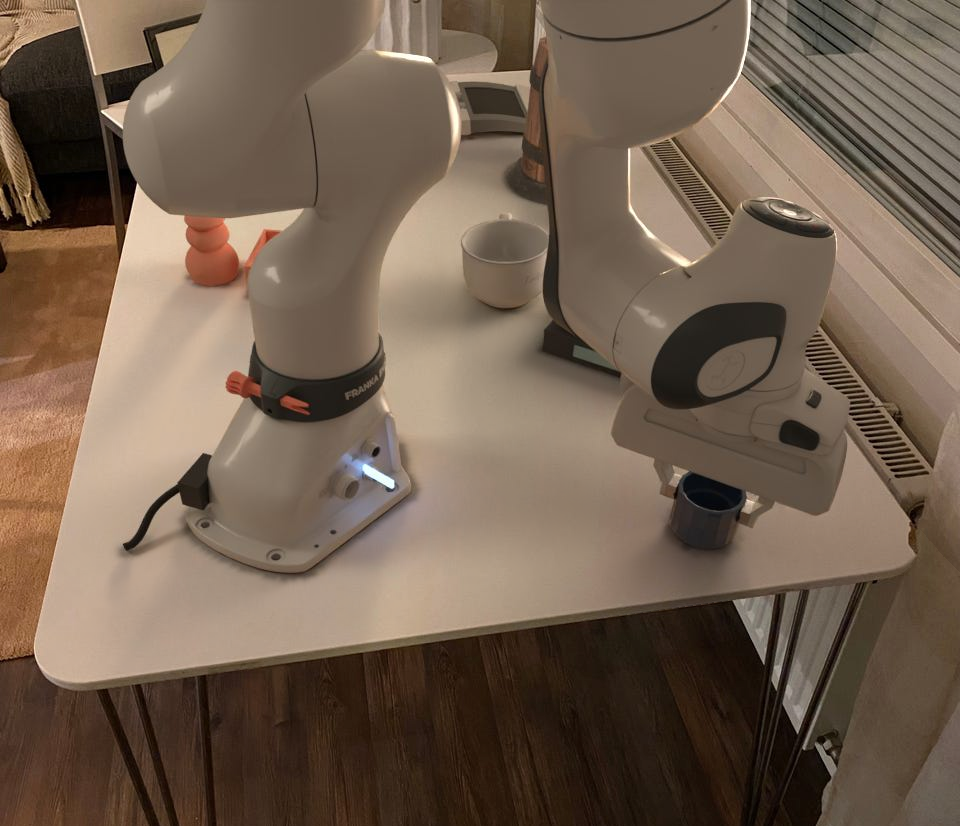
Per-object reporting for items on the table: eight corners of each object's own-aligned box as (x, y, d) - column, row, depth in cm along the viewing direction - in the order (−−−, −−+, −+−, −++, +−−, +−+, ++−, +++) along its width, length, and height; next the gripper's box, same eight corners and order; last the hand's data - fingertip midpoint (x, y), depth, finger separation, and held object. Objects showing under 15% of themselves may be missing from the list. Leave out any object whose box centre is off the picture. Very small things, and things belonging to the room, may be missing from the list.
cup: (723, 561, 89) (734, 522, 86) (659, 537, 91) (669, 498, 88) (742, 520, 93) (754, 482, 90) (681, 498, 95) (691, 459, 92)
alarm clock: (437, 79, 166) (531, 70, 167) (439, 106, 169) (531, 97, 171) (449, 119, 154) (550, 109, 155) (451, 147, 157) (550, 137, 158)
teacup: (538, 324, 117) (543, 265, 112) (451, 311, 118) (452, 253, 113) (554, 268, 127) (560, 211, 122) (474, 257, 129) (476, 200, 123)
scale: (653, 389, 108) (657, 367, 106) (540, 352, 113) (542, 330, 111) (694, 329, 118) (699, 308, 116) (589, 297, 122) (592, 276, 120)
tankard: (498, 158, 152) (505, 22, 138) (602, 155, 154) (619, 22, 140) (524, 229, 135) (536, 83, 121) (641, 225, 137) (665, 81, 123)
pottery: (336, 264, 126) (331, 192, 119) (320, 302, 119) (314, 229, 112) (200, 253, 127) (187, 181, 120) (177, 290, 120) (162, 217, 113)
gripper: (611, 368, 82) (592, 488, 91) (853, 448, 75) (806, 569, 85) (638, 333, 86) (617, 451, 96) (870, 406, 80) (823, 525, 89)
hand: (707, 507), depth 90 cm, fingers closed on cup, 6 cm apart
